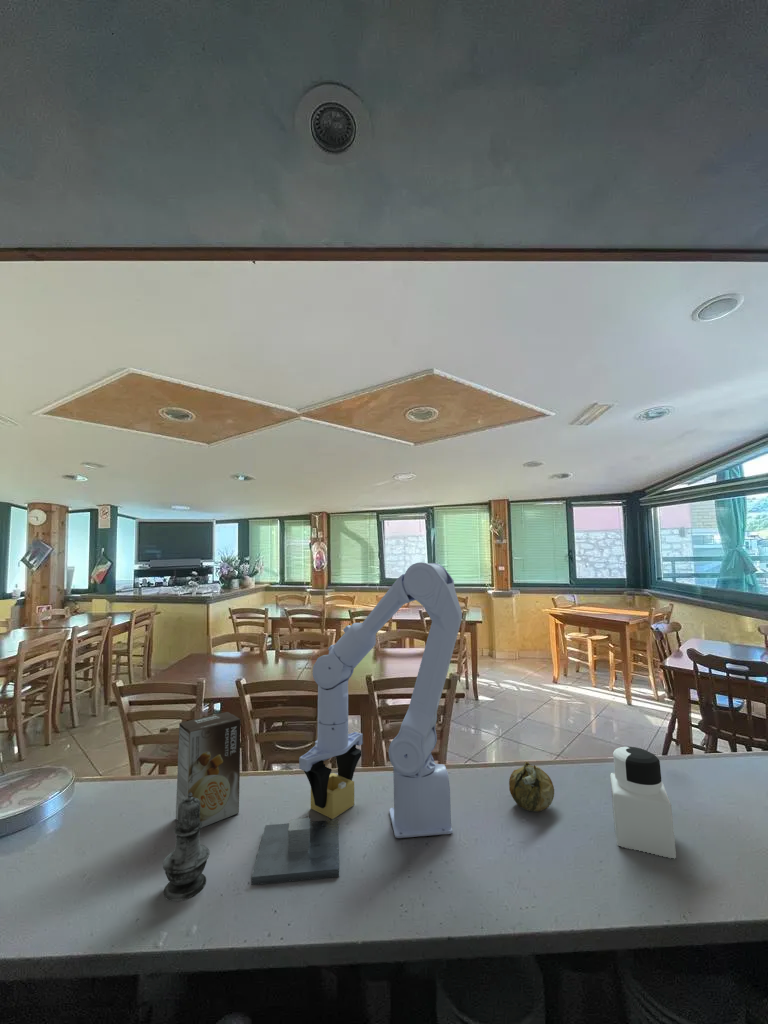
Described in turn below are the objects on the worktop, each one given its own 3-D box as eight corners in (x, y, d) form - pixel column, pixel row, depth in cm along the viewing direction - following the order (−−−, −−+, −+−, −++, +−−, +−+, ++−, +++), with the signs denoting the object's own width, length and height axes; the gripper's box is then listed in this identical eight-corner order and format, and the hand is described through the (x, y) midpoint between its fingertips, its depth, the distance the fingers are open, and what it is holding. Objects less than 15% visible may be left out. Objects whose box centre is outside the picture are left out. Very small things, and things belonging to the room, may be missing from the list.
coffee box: (226, 799, 80) (229, 710, 82) (239, 813, 75) (242, 718, 77) (173, 818, 74) (178, 721, 76) (185, 835, 69) (190, 731, 71)
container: (667, 831, 69) (659, 746, 70) (677, 861, 62) (668, 766, 64) (613, 820, 72) (607, 739, 74) (617, 847, 65) (610, 757, 67)
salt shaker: (190, 906, 54) (195, 805, 56) (150, 899, 56) (156, 800, 57) (217, 874, 60) (220, 783, 62) (180, 868, 61) (185, 779, 63)
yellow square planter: (332, 795, 81) (332, 769, 81) (354, 805, 77) (354, 778, 78) (310, 808, 76) (310, 780, 77) (332, 819, 73) (332, 790, 74)
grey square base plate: (338, 825, 71) (338, 800, 72) (339, 876, 59) (339, 845, 60) (265, 831, 70) (266, 805, 70) (251, 885, 58) (252, 853, 58)
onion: (565, 815, 73) (562, 766, 75) (525, 822, 72) (522, 772, 73) (539, 793, 81) (537, 748, 82) (502, 799, 79) (500, 753, 80)
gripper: (344, 705, 87) (344, 776, 85) (288, 726, 76) (286, 808, 74) (370, 712, 83) (370, 787, 81) (315, 735, 71) (314, 822, 70)
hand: (332, 798), depth 77 cm, fingers closed on yellow square planter, 6 cm apart
